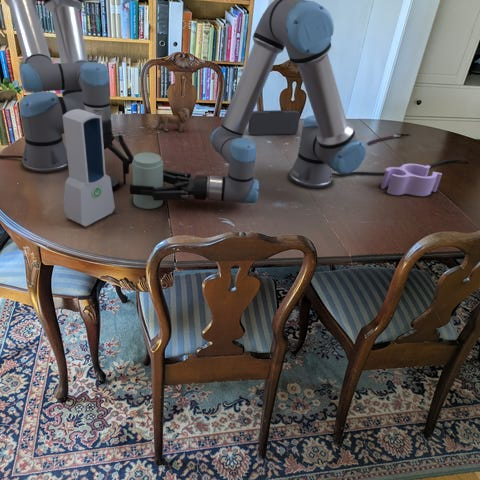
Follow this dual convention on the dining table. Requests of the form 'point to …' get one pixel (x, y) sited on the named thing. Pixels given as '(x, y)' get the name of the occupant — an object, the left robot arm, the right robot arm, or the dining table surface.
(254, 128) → the handheld gaming console
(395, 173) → the clip
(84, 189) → the electronic device
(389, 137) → the sword
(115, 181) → the lid
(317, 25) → the right robot arm
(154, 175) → the jar
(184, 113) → the lion figurine
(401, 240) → the dining table surface
